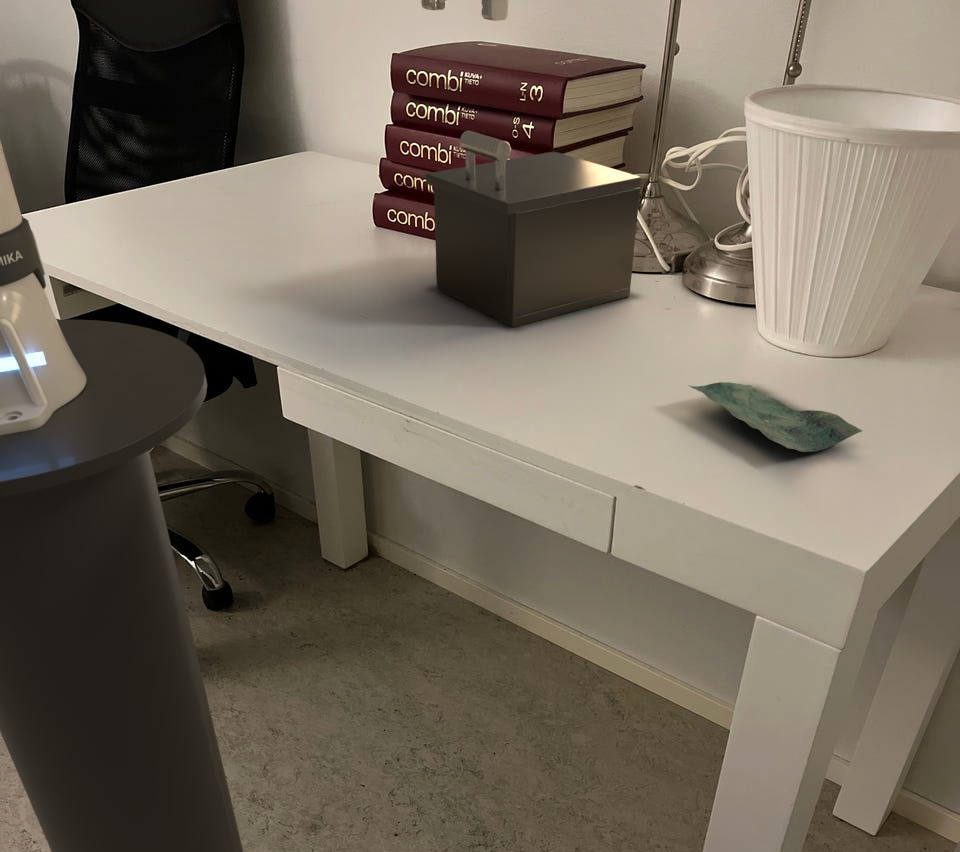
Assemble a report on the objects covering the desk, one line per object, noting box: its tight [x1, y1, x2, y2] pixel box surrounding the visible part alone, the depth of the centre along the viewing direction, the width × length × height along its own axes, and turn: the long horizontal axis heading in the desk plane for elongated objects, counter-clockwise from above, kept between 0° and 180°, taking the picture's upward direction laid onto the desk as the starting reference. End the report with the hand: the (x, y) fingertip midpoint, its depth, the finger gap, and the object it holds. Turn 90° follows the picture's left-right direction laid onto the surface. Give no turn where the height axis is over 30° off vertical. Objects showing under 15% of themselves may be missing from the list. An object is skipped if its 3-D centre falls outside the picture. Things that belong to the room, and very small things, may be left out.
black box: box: [433, 187, 641, 328], centre depth 102 cm, size 16×14×11 cm
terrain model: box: [688, 381, 863, 453], centre depth 80 cm, size 13×8×2 cm, turn 29°
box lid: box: [425, 130, 642, 214], centre depth 97 cm, size 17×14×5 cm
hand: (463, 14), depth 85 cm, fingers open, 8 cm apart
